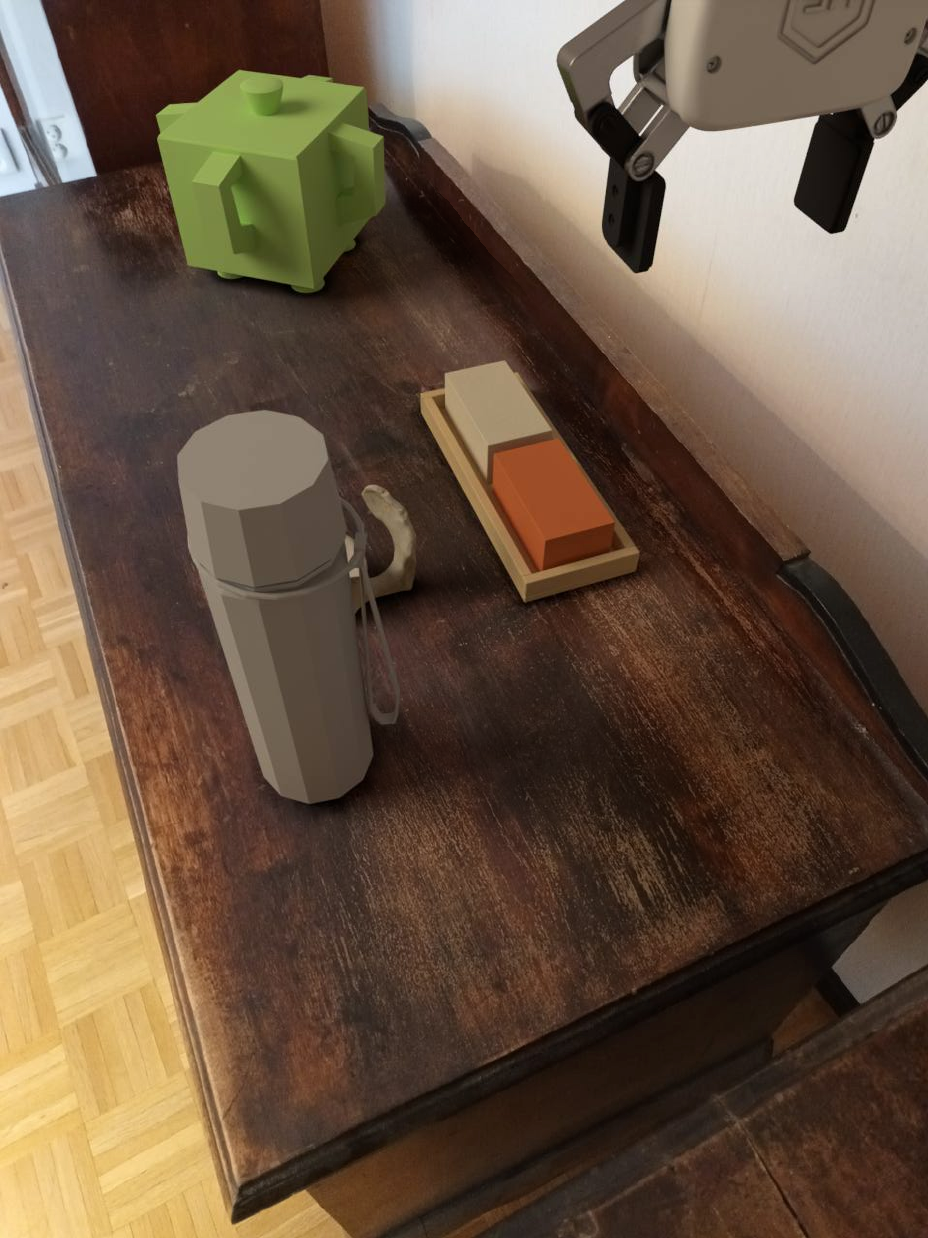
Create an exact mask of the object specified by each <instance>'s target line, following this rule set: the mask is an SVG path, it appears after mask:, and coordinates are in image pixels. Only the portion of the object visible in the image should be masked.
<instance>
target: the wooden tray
mask: <svg viewBox="0 0 928 1238" xmlns="http://www.w3.org/2000/svg"><path fill="white" fill-rule="evenodd" d="M513 373H514V374H515V376H516V377H517V379H518V380H519V382H520V383H521V385H522V386H523V388H524V389H525V390H526V392H527V393H528V395H529V396H530V398H531V399H532V401H533V402H534V404H535V405H536V407H537V408H538V410H539V411H540V413H541V414H542V416H543V417H544V419H545V420H546V422H547V423H548V424H549V426H550V427H551V429H552V439H551V440H553V439H558V438H559V439H560V441H561V442H562V444H563V445H564V447H565V448H566V450H567V451H568V453H569V454H570V455H571V457H572V458H573V460H574V461H575V463H576V464H577V466H578V467H579V469H580V470H581V472H582V473H583V475H584V476H585V478H586V479H587V481H588V482H589V484H590V485H591V487H592V488H593V490H594V491H595V493H596V494H597V496H598V497H599V499H600V500H601V502H602V503H603V505H604V506H605V508H606V509H607V511H608V512H609V514H610V515H611V517H612V518H613V520H614V521H615V526H614V532H613V537H612V543H611V548H610V553H606V554H602V555H599V556H595V557H592V558H588V559H584V560H581V561H577V562H573V563H570V564H566V565H563V566H559V567H555V568H552V569H548V570H544V571H541V572H537V570H536V568H535V566H534V565H533V563H532V561H531V559H530V557H529V556H528V554H527V552H526V550H525V549H524V547H523V545H522V543H521V542H520V540H519V538H518V536H517V535H516V533H515V531H514V529H513V527H512V526H511V524H510V522H509V520H508V519H507V517H506V515H505V513H504V512H503V510H502V508H501V506H500V504H499V503H498V501H497V499H496V497H495V496H494V494H493V492H492V490H493V482H492V483H488V484H486V482H485V480H484V478H483V477H482V475H481V473H480V471H479V470H478V468H477V466H476V464H475V463H474V461H473V459H472V457H471V456H470V454H469V452H468V450H467V449H466V447H465V445H464V443H463V442H462V440H461V438H460V436H459V435H458V433H457V431H456V429H455V428H454V426H453V424H452V422H451V421H450V419H449V417H448V415H447V414H446V412H445V387H442V388H439V389H434V390H429V391H425V392H421V393H420V397H419V398H420V413H421V415H422V417H423V419H424V421H425V423H426V424H427V426H428V428H429V430H430V431H431V433H432V435H433V438H434V439H435V441H436V443H437V444H438V446H439V448H440V450H441V452H442V454H443V456H444V457H445V459H446V461H447V463H448V465H449V466H450V469H451V470H452V472H453V474H454V476H455V477H456V480H457V481H458V483H459V485H460V487H461V489H462V490H463V492H464V494H465V496H466V498H467V500H468V502H469V503H470V505H471V507H472V509H473V511H474V512H475V514H476V516H477V518H478V520H479V522H480V523H481V525H482V527H483V529H484V531H485V532H486V535H487V536H488V539H489V540H490V542H491V544H492V546H493V547H494V549H495V552H496V553H497V555H498V557H499V559H500V560H501V562H502V564H503V565H504V568H505V569H506V571H507V573H508V575H509V577H510V579H511V580H512V582H513V584H514V586H515V588H516V589H517V590H516V591H518V594H519V595H520V597H521V600H522V601H523V602H524V603H528V602H533V601H537V600H539V599H543V598H547V597H551V596H553V595H556V594H557V595H558V594H560V593H564V592H567V591H571V590H575V589H577V588H578V589H579V588H581V587H585V586H589V585H592V584H596V583H600V582H602V581H607V580H610V579H613V578H618V577H621V576H625V575H628V574H632V573H635V572H637V567H638V562H639V558H640V550H639V549H638V547H637V546H636V545H635V542H634V541H633V540H632V538H631V537H630V536H629V534H628V533H627V531H626V529H625V528H624V527H623V525H622V524H621V523H620V520H619V519H618V518H617V516H616V515H615V513H614V512H613V510H612V509H611V507H610V506H609V505H608V503H607V502H606V500H605V499H604V498H603V496H602V494H601V493H600V492H599V490H598V489H597V487H596V485H595V484H594V483H593V481H592V480H591V478H590V477H589V475H588V474H587V472H586V470H585V469H584V468H583V466H582V465H581V463H580V462H579V460H578V458H576V456H575V455H574V453H573V452H572V450H571V449H570V447H569V446H568V445H567V443H566V441H565V440H564V438H563V437H562V435H561V434H560V433H559V431H558V430H557V428H556V427H555V425H554V424H553V422H552V421H551V419H550V417H548V415H547V414H546V412H545V410H544V409H543V408H542V406H541V404H540V403H539V402H538V400H537V399H536V398H535V396H534V394H533V393H532V391H531V390H530V389H529V387H528V386H527V384H526V383H525V381H524V380H523V378H522V377H521V375H520V374H519V372H518V371H515V372H513Z"/></svg>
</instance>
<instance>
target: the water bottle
mask: <svg viewBox="0 0 928 1238" xmlns="http://www.w3.org/2000/svg"><path fill="white" fill-rule="evenodd" d="M176 460H177V461H176V462H177V463H176V464H177V479H178V486H179V492H180V493H179V494H180V499H181V503H182V509H183V516H184V520H185V527H186V531H187V532H186V533H187V548H188V551H189V554H190V557H191V560H192V562H193V563H194V564H195V566H196V569H197V571H198V575H199V579H200V583H201V586H202V588H203V591H204V594H205V598H206V601H207V604H208V607H209V610H210V613H211V616H212V619H213V623H214V626H215V629H216V633H217V635H218V639H219V641H220V646H221V647H222V651H223V653H224V654H223V655H224V658H225V660H226V664H227V667H228V670H229V672H230V676H231V679H232V683H233V685H234V689H235V692H236V695H237V697H238V701H239V705H240V707H241V711H242V714H243V716H244V720H245V723H246V726H247V729H248V732H249V735H250V738H251V742H252V746H253V748H254V751H255V754H256V757H257V760H258V764H259V766H260V770H261V774H262V776H263V778H264V779H265V780H266V781H267V782H268V783H269V784H270V786H271V787H272V788H273V789H274V790H275V791H276V792H277V793H278V795H280V797H283V798H287V799H290V800H294V801H297V802H299V803H300V802H301V803H304V804H308V805H311V804H312V805H313V804H316V803H322V802H325V801H330V800H331V801H332V800H336V799H340V798H341V797H343V796H344V795H345V794H346V793H348V792H349V791H350V790H352V789H353V788H354V787H356V786H357V785H358V784H360V783H361V782H362V781H363V780H365V779H364V778H365V776H366V774H367V772H368V769H369V766H370V765H371V762H372V760H373V758H374V748H373V741H372V734H371V725H370V718H369V717H370V716H369V713H370V715H371V716H372V717H373V719H374V721H376V722H377V723H379V724H380V725H395V724H396V722H397V719H398V717H399V711H400V694H401V688H400V687H401V686H400V683H399V681H398V676H397V673H396V669H395V666H394V663H393V660H392V656H391V653H390V652H391V651H390V647H389V644H388V641H387V638H386V637H387V636H386V634H385V631H384V627H383V624H382V620H381V616H380V612H379V609H378V606H377V601H376V598H374V594H373V591H372V587H371V583H370V580H369V578H370V576H369V573H368V569H366V566H365V562H364V557H365V558H366V550H367V549H366V548H367V543H368V542H367V540H368V536H369V535H368V534H369V533H367V532H365V523H364V521H363V520H362V519H361V517H360V516H359V514H358V513H357V511H356V510H355V508H354V506H353V505H352V504H351V503H349V502H348V501H347V500H345V499H344V498H342V497H341V496H340V494H339V490H338V487H337V482H336V479H335V474H334V471H333V468H332V464H331V460H330V455H329V453H328V449H327V444H326V441H325V437H324V434H323V433H322V432H320V431H319V430H317V429H316V428H315V427H314V426H312V425H311V424H310V423H308V422H307V421H306V420H304V418H302V417H301V416H297V415H293V414H287V413H282V412H277V411H272V410H267V409H262V410H256V411H255V410H253V411H249V412H241V413H233V414H227V415H225V416H223V417H221V418H219V419H217V420H215V421H214V422H211V423H210V424H207V425H205V426H203V427H201V428H199V429H198V430H195V431H194V432H193V434H192V435H191V437H190V438H189V439H188V440H187V442H186V443H185V444H184V446H183V447H182V448H181V450H180V451H179V452H178V454H177V455H176ZM343 509H344V510H345V512H346V513H347V514H348V515H349V516H350V518H351V520H352V521H353V524H354V525H355V530H356V532H355V534H354V540H355V541H354V547H353V548H354V554H353V556H352V557H351V559H350V560H349V562H348V559H347V551H346V545H345V539H346V535H347V533H346V532H347V531H348V529H347V524H346V519H345V516H344V511H343ZM354 568H359V581H360V596H361V607H360V608H361V609H360V611H361V623H362V639H363V653H364V654H363V655H364V666H365V668H364V669H365V680H366V689H365V680H364V673H363V665H362V658H361V657H362V656H361V651H360V650H361V649H360V643H359V642H360V641H359V635H358V628H357V620H356V613H355V611H354V604H353V596H352V589H351V581H350V574H349V572H350V571H351V570H353V569H354ZM363 579H364V582H365V586H366V590H367V593H368V597H369V601H368V602H369V604H370V608H371V612H372V615H373V619H374V622H375V626H376V630H377V633H378V637H379V641H380V644H381V648H382V652H383V655H384V660H385V662H386V666H387V670H388V675H389V677H390V682H391V686H392V688H393V692H394V695H395V700H396V701H395V706H394V709H393V712H385V713H382V712H381V711H380V710H379V708H378V707H377V705H376V704H375V703H374V694H373V693H374V692H373V681H372V669H371V658H370V657H371V655H370V644H369V634H368V622H367V621H368V620H367V610H366V609H367V608H366V603H365V596H364V584H363ZM366 694H367V695H366ZM368 709H369V711H368Z"/></svg>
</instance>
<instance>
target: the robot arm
mask: <svg viewBox="0 0 928 1238" xmlns="http://www.w3.org/2000/svg"><path fill="white" fill-rule="evenodd" d="M630 58H632V74H633V78H634V81H635V83H636V84H635V85H634V86H633V87H632V89H631V90H630V92H629V93H628V95H627V96H626V97H625V98H624V100H622V102H621V103H620V105H619V106H618V108H616V104H615V102H614V99H613V96H612V95H613V92H612V89H611V85H610V81H611V77H612V75H613V73H614V71H615V70H616V69H617V68H618V67H620V66H621V65H622V64H623V63H625V62H626V61H627V60H629V59H630ZM555 61H556V66H557V69H558V72H559V74H560V77H561V80H562V83H563V85H564V87H565V90H566V94H567V95H568V98H569V101H570V103H571V104H572V106H573V109H574V110H573V114H574V118H575V120H576V121H577V122H578V124H580V126H581V127H582V128H583V129H584V130H585V131H586V132H587V134H588V135H589V136H590V137H591V138H592V139H593V140H594V141H595V143H596V144H597V145H598V146H599V148H600V149H601V150H602V151H603V153H605V154H606V155H607V156H608V158H609V160H608V170H607V176H606V185H605V186H606V187H605V193H604V201H603V203H604V204H603V210H602V216H601V217H602V218H601V232H602V236H603V239H604V240H605V242H606V244H607V245H608V246H609V248H610V249H611V250H612V251H613V252H614V253H615V254H616V255H617V256H618V258H619V259H620V260H622V262H623V263H624V264H625V265H626V266H627V268H629V269H630V270H631V272H632V273H634V274H640V273H646V272H648V271H649V270H650V268H652V266H653V264H654V259H655V253H656V247H657V241H658V237H659V229H660V224H661V220H662V213H663V207H664V201H665V197H666V190H667V182H666V179H665V178H664V176H662V175H661V173H659V172H658V171H657V169H658V167H659V166H660V165H661V163H662V162H663V161H664V160H665V159H666V157H667V156H668V155H669V153H670V152H672V150H673V149H674V148H675V146H676V145H677V144H678V142H679V141H680V140H681V139H682V138H683V136H684V135H685V134H686V133H687V131H688V130H689V128H693V129H695V130H698V131H701V132H713V133H715V132H724V131H732V130H738V129H739V130H740V129H746V128H752V127H757V126H759V127H760V126H765V125H770V124H776V123H782V122H787V121H795V120H800V119H806V118H813V117H817V118H818V119H817V121H816V122H815V124H814V125H813V126H814V127H813V130H812V134H811V137H810V141H809V144H808V148H807V150H806V153H805V154H806V155H805V158H804V162H803V165H802V168H801V172H800V176H799V179H798V183H797V186H796V189H795V192H794V196H793V205H794V207H795V208H796V209H798V210H799V212H801V213H803V214H804V215H805V216H806V217H807V218H809V219H810V220H811V221H813V222H814V223H815V224H816V225H818V226H819V227H820V228H821V229H823V230H824V231H825V232H827V233H828V234H830V235H835V234H840V233H843V232H844V231H845V230H846V229H847V227H848V223H849V220H850V217H851V215H852V211H853V208H854V205H855V203H856V199H857V197H858V193H859V191H860V187H861V186H862V185H861V184H862V182H863V179H864V176H865V173H866V169H867V167H868V164H869V161H870V157H871V155H872V152H873V148H874V146H875V140H880V139H883V138H885V137H886V136H887V135H889V134H890V133H891V131H892V130H893V129H894V127H895V125H896V124H897V121H898V111H899V110H900V109H901V108H902V107H903V106H904V105H905V104H906V103H907V102H908V101H909V100H910V99H911V98H912V97H913V96H914V95H915V94H916V93H917V92H918V91H919V90H920V89H921V88H922V87H923V86H924V85H925V84H926V83H927V81H928V0H623V1H622V2H620V3H619V4H618V5H616V6H615V7H614V8H612V9H611V10H609V11H608V12H606V13H605V14H604V15H603V16H601V17H600V18H598V19H597V20H596V21H594V22H593V23H592V24H590V25H588V26H587V27H586V28H585V29H584V30H582V31H581V32H579V33H578V34H577V35H575V36H574V37H573V38H571V39H570V40H569V41H567V42H566V43H564V44H563V45H562V46H561V47H560V48H559V50H558V52H557V55H556V60H555ZM659 109H660V110H659ZM658 110H659V111H658ZM656 113H657V114H656ZM655 114H656V115H655ZM652 118H653V119H652ZM648 123H649V124H648ZM645 127H646V128H645Z"/></svg>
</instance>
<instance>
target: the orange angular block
mask: <svg viewBox="0 0 928 1238" xmlns="http://www.w3.org/2000/svg"><path fill="white" fill-rule="evenodd" d="M492 492H493V494H494V496H495V497H496V499H497V501H498V503H499V504H500V506H501V508H502V510H503V512H504V513H505V515H506V517H507V519H508V520H509V522H510V524H511V526H512V527H513V529H514V531H515V533H516V535H517V536H518V538H519V540H520V542H521V543H522V545H523V547H524V549H525V550H526V552H527V554H528V556H529V557H530V559H531V561H532V563H533V565H534V566H535V568H536V570H537V572H541V571H544V570H548V569H552V568H555V567H559V566H563V565H566V564H570V563H573V562H577V561H581V560H584V559H588V558H592V557H595V556H599V555H602V554H606V553H610V548H611V543H612V537H613V532H614V526H615V521H614V520H613V518H612V517H611V515H610V514H609V512H608V511H607V509H606V508H605V506H604V505H603V503H602V502H601V500H600V499H599V497H598V496H597V494H596V493H595V491H594V490H593V488H592V487H591V485H590V484H589V482H588V481H587V479H586V478H585V476H584V475H583V473H582V472H581V470H580V469H579V467H578V466H577V464H576V463H575V461H574V460H573V458H572V457H571V455H570V454H569V453H568V451H567V450H566V448H565V447H564V445H563V444H562V442H561V441H560V439H559V438H558V439H553V440H549V441H545V442H541V443H537V444H532V445H528V446H524V447H520V448H516V449H511V450H507V451H503V452H499V453H495V454H494V464H493V490H492Z"/></svg>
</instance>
